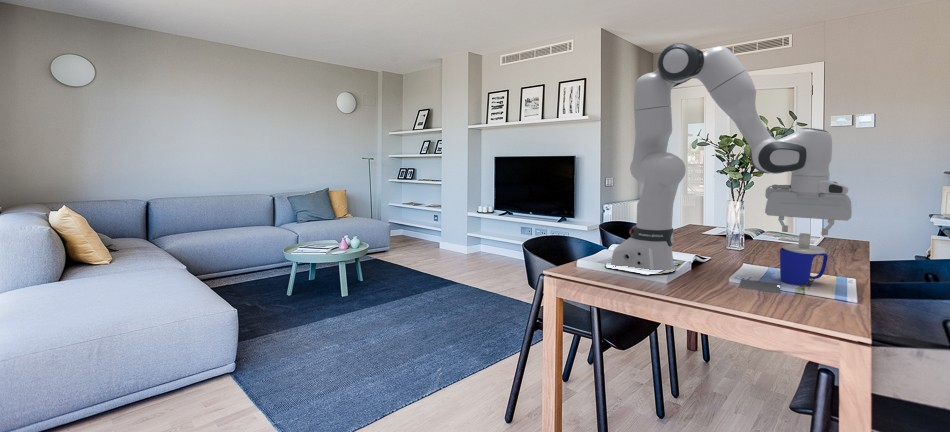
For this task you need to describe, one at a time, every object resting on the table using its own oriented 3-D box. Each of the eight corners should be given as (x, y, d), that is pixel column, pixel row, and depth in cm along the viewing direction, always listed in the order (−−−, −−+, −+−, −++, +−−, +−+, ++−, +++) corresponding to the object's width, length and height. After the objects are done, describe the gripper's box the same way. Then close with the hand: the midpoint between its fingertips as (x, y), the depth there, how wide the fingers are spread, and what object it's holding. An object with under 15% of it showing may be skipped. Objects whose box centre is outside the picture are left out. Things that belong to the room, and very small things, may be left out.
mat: (738, 288, 132) (738, 287, 132) (741, 280, 140) (741, 278, 140) (779, 294, 126) (779, 292, 126) (780, 285, 135) (780, 283, 135)
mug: (832, 288, 131) (835, 253, 129) (784, 286, 133) (787, 252, 132) (817, 280, 139) (820, 247, 137) (772, 278, 141) (775, 246, 140)
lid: (782, 251, 133) (783, 235, 133) (783, 245, 141) (784, 229, 141) (825, 255, 128) (827, 238, 127) (824, 248, 136) (825, 232, 135)
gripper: (765, 184, 135) (761, 231, 137) (855, 188, 124) (849, 238, 126) (766, 183, 140) (762, 228, 142) (853, 186, 129) (847, 235, 131)
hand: (804, 233), depth 134 cm, fingers open, 8 cm apart
